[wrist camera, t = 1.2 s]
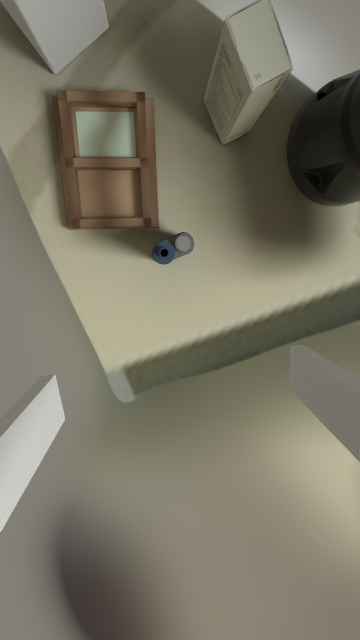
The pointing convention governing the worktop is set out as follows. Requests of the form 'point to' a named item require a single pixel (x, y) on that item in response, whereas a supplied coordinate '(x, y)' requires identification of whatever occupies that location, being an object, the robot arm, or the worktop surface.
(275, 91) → the skincare box
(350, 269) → the worktop surface
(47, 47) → the soap bottle
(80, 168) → the divided wooden tray
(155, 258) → the vaping device
